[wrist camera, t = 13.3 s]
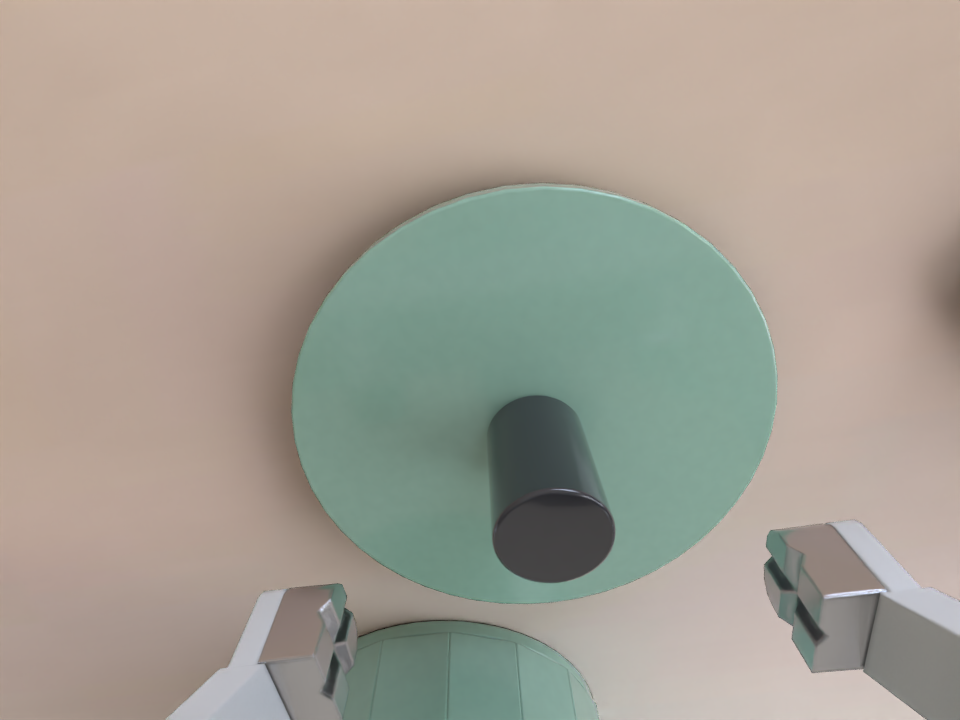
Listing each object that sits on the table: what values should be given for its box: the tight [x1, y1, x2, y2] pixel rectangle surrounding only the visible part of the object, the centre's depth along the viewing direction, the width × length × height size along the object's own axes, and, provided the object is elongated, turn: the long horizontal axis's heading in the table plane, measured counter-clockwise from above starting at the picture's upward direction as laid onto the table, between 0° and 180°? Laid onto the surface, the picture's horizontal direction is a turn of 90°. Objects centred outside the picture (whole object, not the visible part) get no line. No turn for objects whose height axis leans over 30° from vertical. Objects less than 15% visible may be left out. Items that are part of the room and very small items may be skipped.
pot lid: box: [291, 183, 777, 604], centre depth 13 cm, size 12×12×5 cm
